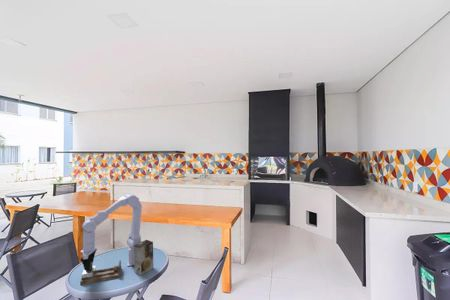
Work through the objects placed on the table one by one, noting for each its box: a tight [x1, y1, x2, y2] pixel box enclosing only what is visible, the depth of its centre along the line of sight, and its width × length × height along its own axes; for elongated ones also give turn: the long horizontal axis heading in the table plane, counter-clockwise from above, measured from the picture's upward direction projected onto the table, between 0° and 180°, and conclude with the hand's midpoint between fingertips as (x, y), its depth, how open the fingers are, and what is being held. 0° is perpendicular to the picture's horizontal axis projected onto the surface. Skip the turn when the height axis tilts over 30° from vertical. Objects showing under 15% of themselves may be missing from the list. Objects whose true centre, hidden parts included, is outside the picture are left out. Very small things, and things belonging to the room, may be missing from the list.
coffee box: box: [134, 239, 154, 276], centre depth 128 cm, size 9×6×16 cm
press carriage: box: [81, 261, 97, 278], centre depth 120 cm, size 5×8×6 cm, turn 20°
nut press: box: [79, 259, 122, 286], centre depth 122 cm, size 19×10×6 cm, turn 110°
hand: (89, 266), depth 120 cm, fingers open, 7 cm apart
